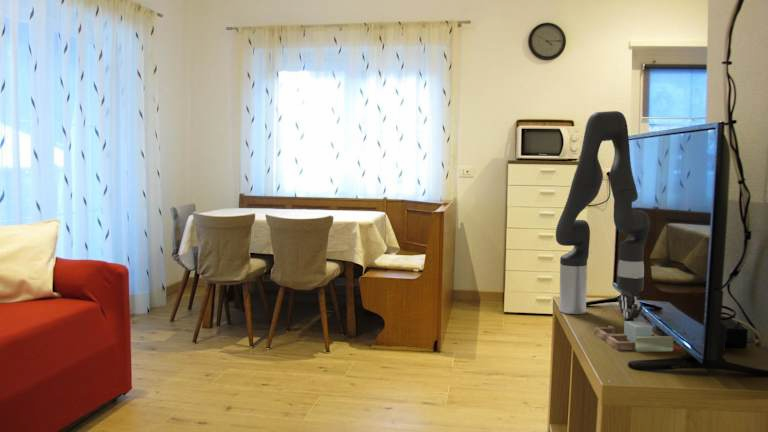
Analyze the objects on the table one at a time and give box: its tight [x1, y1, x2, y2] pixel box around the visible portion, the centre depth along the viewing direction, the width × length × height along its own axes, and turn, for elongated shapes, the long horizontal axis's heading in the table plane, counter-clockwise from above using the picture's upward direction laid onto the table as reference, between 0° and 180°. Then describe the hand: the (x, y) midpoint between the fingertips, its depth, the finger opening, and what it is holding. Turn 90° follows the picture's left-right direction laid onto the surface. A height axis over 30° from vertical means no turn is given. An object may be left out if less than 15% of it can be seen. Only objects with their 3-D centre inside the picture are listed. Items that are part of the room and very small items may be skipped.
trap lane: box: [594, 325, 674, 353], centre depth 178 cm, size 20×15×4 cm
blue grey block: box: [623, 320, 653, 342], centre depth 178 cm, size 7×5×5 cm
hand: (628, 329), depth 185 cm, fingers closed
